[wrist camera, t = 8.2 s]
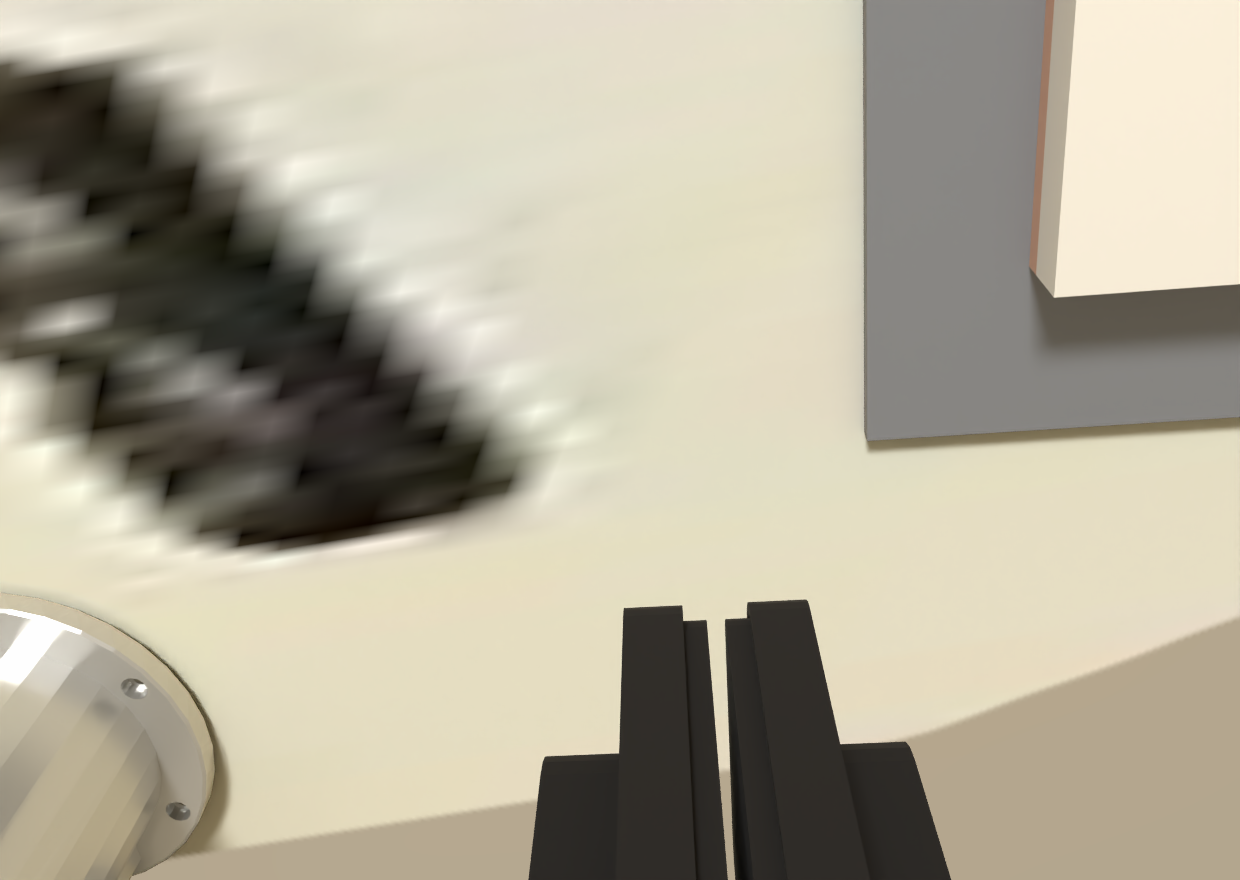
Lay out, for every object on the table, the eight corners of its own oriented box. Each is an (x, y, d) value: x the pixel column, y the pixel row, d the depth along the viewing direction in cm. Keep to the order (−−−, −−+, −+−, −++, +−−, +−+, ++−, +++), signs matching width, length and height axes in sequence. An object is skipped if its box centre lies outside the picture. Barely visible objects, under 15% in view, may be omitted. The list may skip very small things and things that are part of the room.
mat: (1432, 394, 34) (1444, 404, 33) (864, 431, 35) (867, 440, 34) (1612, -359, 25) (1632, -363, 25) (862, -272, 27) (866, -275, 26)
